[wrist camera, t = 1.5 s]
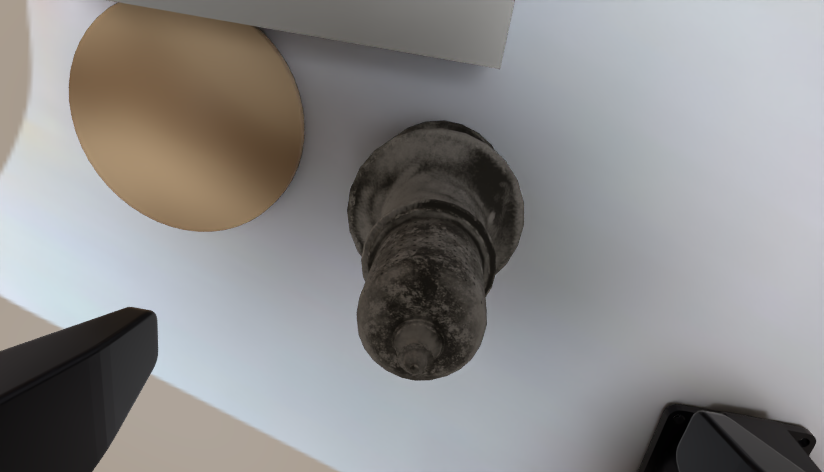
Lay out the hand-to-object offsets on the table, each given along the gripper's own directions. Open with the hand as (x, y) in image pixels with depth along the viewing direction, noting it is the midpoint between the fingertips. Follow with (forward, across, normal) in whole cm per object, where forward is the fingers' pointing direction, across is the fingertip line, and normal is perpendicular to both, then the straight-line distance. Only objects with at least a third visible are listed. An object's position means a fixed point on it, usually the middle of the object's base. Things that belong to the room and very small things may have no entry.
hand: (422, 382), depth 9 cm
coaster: (+13, +10, 0) cm, 16 cm away
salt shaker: (+13, 0, +1) cm, 13 cm away
